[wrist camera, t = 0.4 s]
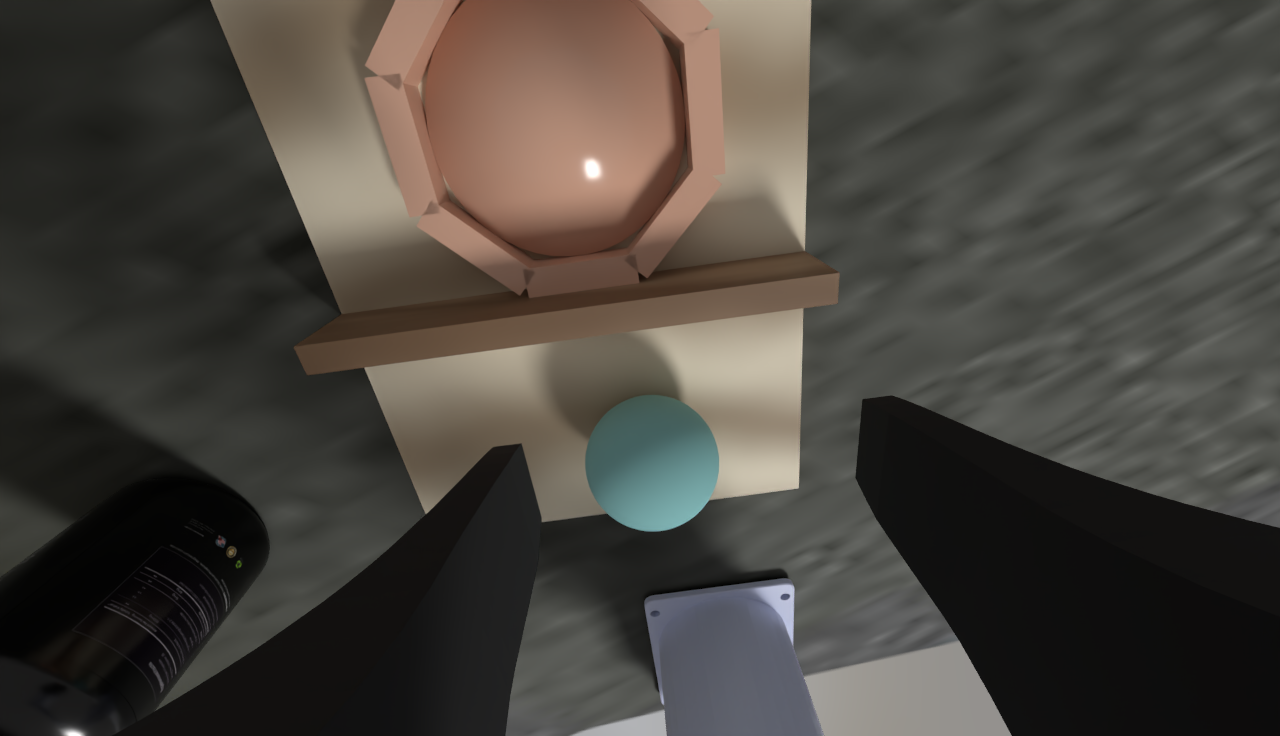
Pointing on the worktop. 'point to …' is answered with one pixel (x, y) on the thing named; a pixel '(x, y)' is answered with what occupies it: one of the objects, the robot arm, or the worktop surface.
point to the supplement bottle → (121, 606)
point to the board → (562, 323)
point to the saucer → (551, 131)
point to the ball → (652, 463)
